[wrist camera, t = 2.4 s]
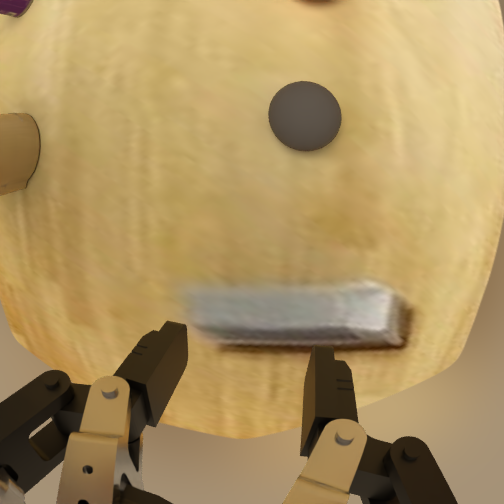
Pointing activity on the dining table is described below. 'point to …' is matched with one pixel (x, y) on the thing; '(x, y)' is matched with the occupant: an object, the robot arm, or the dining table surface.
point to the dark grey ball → (304, 116)
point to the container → (14, 7)
